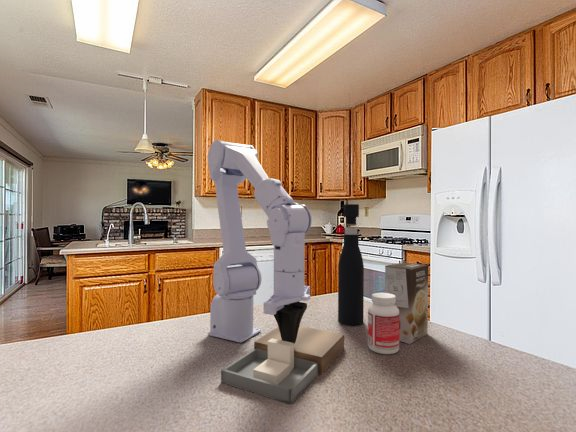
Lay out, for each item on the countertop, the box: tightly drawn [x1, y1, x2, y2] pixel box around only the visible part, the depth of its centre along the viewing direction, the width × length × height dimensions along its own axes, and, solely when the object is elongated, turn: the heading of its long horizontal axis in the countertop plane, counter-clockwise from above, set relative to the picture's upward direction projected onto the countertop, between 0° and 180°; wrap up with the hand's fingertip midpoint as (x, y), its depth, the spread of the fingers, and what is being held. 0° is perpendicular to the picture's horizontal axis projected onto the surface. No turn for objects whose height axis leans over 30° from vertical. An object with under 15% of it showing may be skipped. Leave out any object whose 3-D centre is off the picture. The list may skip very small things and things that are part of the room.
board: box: [253, 325, 345, 375], centre depth 65 cm, size 14×12×3 cm
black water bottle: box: [337, 203, 365, 327], centre depth 84 cm, size 6×6×30 cm
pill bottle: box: [367, 292, 400, 355], centre depth 67 cm, size 6×6×11 cm
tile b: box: [253, 359, 290, 385], centre depth 55 cm, size 4×4×2 cm
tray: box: [220, 348, 319, 405], centre depth 55 cm, size 13×10×2 cm
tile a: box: [267, 338, 294, 372], centre depth 58 cm, size 4×4×2 cm
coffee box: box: [384, 262, 429, 345], centre depth 75 cm, size 9×6×16 cm
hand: (288, 343), depth 61 cm, fingers closed
